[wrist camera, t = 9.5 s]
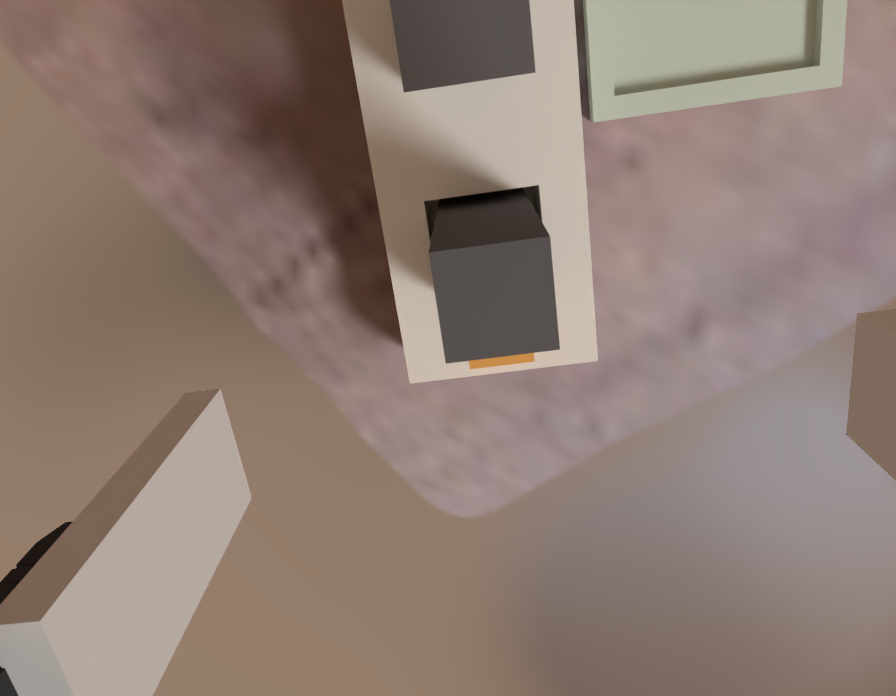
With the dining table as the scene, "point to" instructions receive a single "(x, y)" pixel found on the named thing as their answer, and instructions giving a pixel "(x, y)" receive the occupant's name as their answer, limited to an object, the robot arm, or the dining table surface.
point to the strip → (474, 149)
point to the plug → (493, 277)
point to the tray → (707, 52)
